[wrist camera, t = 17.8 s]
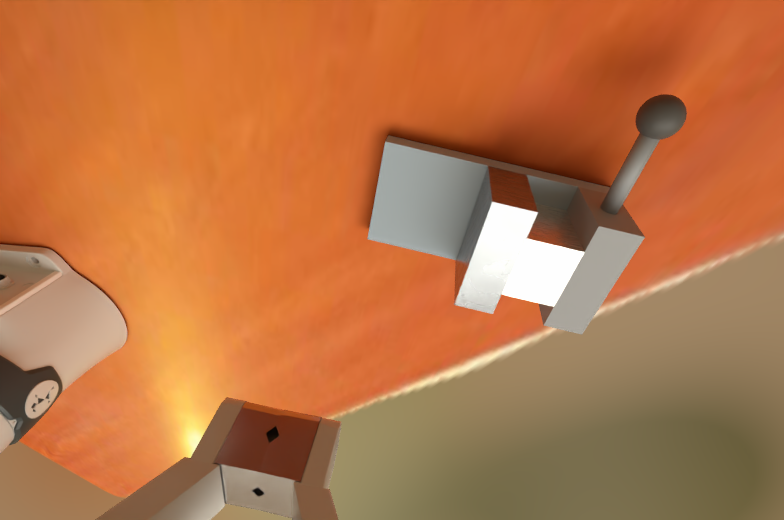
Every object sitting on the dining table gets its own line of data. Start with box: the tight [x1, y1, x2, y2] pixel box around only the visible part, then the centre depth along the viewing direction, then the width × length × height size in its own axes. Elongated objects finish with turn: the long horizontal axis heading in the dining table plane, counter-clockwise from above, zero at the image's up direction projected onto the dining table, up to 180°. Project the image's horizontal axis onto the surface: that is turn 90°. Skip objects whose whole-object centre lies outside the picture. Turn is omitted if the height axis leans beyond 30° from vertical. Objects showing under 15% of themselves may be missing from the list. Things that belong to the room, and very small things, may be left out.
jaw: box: [454, 166, 538, 314], centre depth 32 cm, size 3×9×6 cm, turn 169°
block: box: [502, 203, 584, 307], centre depth 32 cm, size 4×5×6 cm
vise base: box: [368, 95, 687, 334], centre depth 30 cm, size 18×17×8 cm
